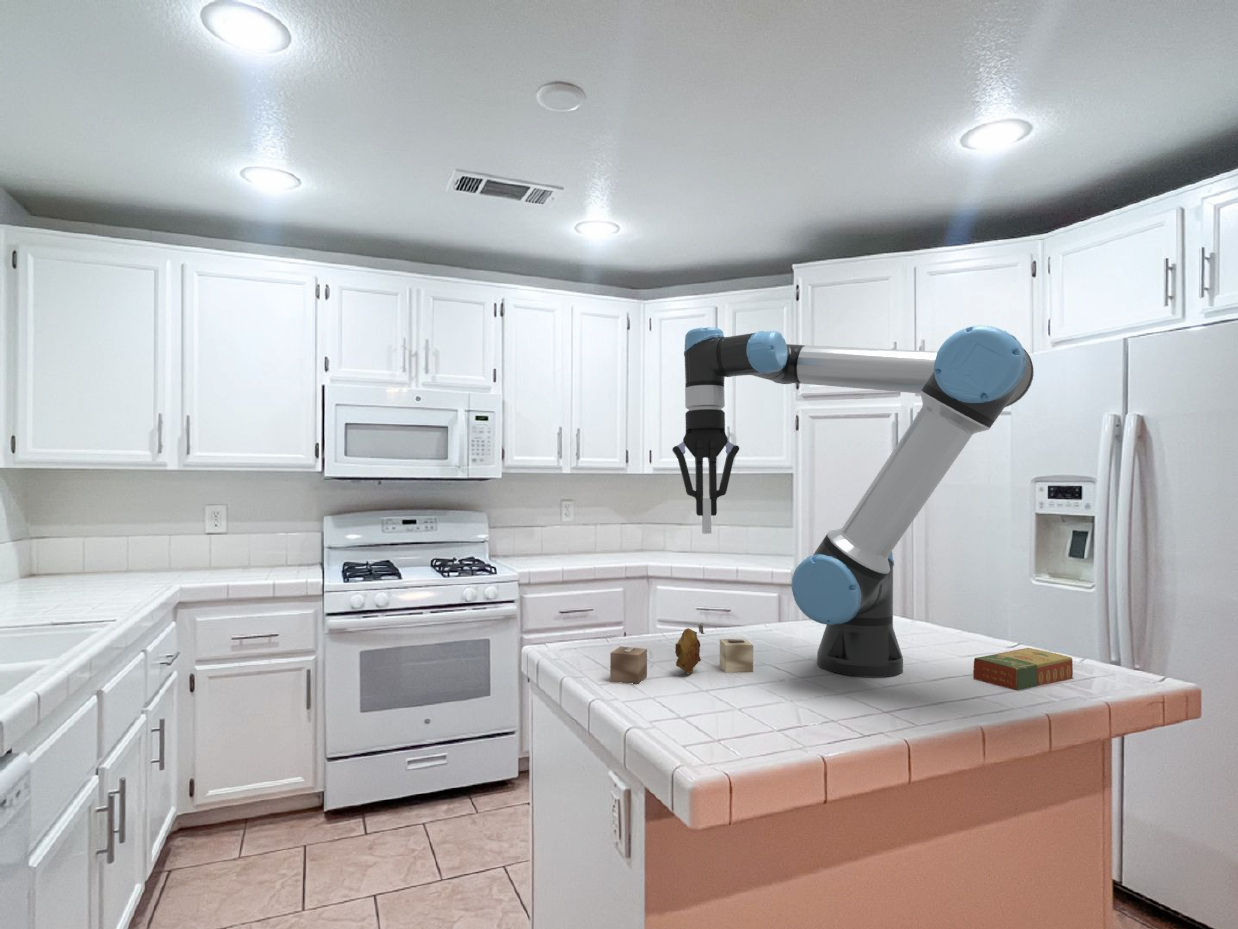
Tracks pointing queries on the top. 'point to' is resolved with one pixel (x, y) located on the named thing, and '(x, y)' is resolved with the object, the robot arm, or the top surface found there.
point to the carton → (1023, 668)
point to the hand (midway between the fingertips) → (706, 533)
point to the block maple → (736, 656)
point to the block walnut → (628, 665)
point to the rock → (688, 649)
